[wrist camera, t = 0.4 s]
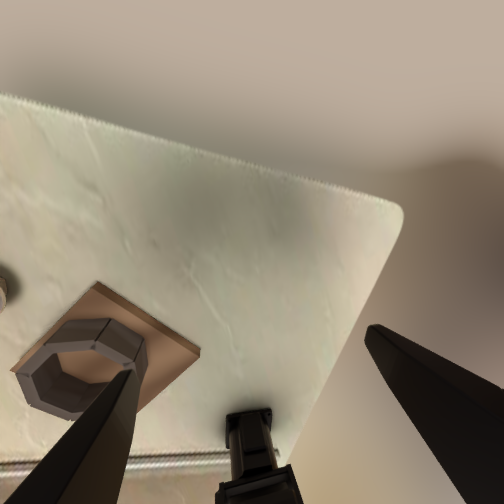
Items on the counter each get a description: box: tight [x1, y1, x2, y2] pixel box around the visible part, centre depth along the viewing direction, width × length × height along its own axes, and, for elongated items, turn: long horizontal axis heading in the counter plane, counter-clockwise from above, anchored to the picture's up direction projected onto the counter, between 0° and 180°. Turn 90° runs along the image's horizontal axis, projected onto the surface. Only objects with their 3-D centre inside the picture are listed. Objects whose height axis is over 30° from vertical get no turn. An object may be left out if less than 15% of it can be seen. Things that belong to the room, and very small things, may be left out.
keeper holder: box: [10, 282, 200, 421], centre depth 21 cm, size 13×12×4 cm
